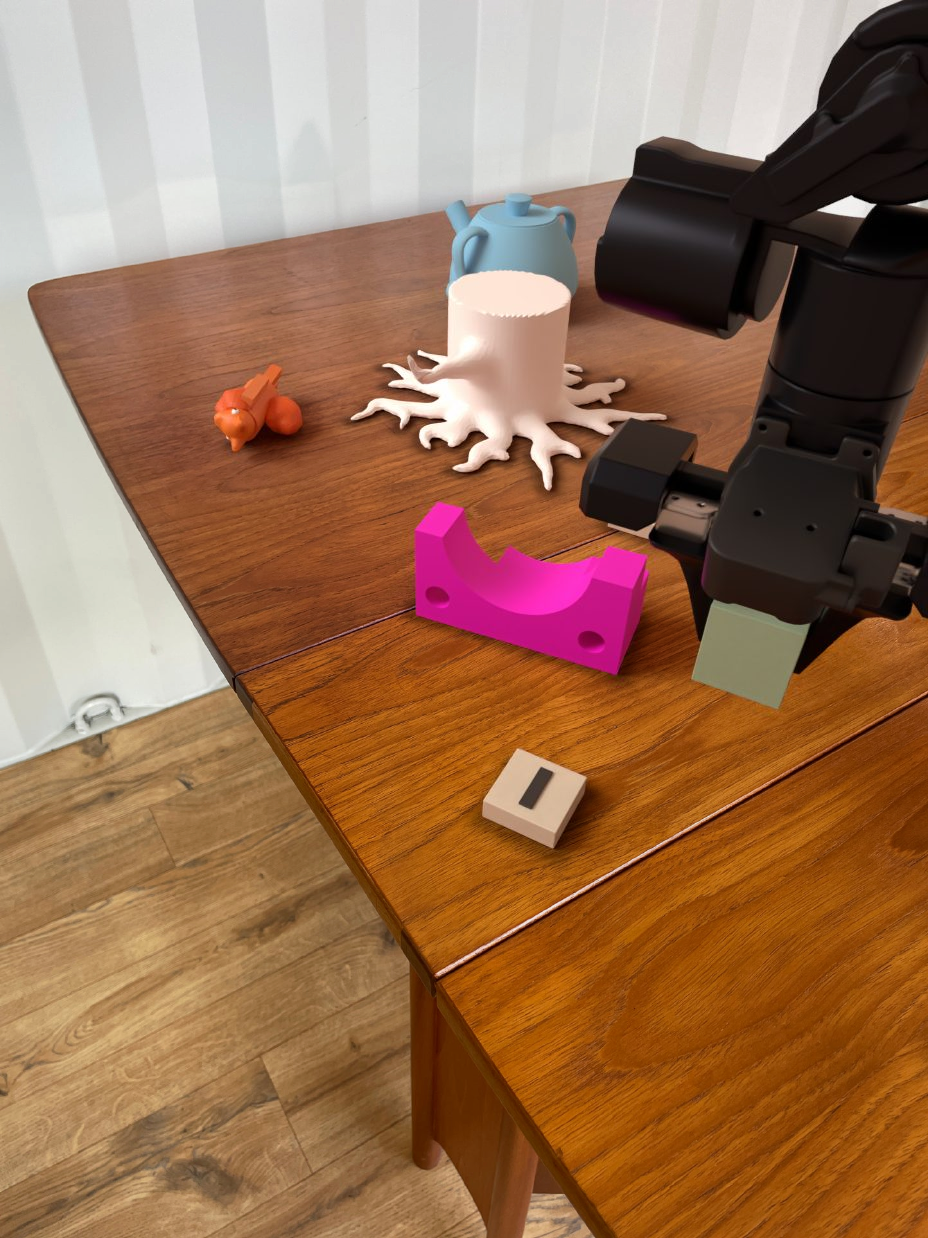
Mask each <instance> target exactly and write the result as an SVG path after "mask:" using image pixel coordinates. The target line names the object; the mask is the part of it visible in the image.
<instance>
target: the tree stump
mask: <svg viewBox="0 0 928 1238" xmlns="http://www.w3.org/2000/svg"><path fill="white" fill-rule="evenodd" d="M447 300H448V303H447V308H448V309H447V356H446V355H441V354H434V353H433V354H432V353H428V352H425V351H422V349H419V350H417V355H418V356H421V357H423V358H427V359H429V360H432V361H434V362H435V363H438V364H437V365H435V366H434V367H433V368H431V369H430V368H421V367H419V366H418V365H417V363H416V361H415V359H414V358H413V357H412V356H411V355H410V354H408V355H407V356H406V359H407V364H408V365H409V369H410V370H409V369H406V368H404V367H403V366H400V365H398V364H394V363H390V362H388V363H384V364H382V367H383V368H391V369H393V370H394V371H396V372H397V373H398V374H399V375H400V376H401V377H402V379H397V380H392V381H391V382H389V383H388V384H387V386H388V387H391V388H399V389H403V388H405V389H410V390H413V391H414V390H415V391H417V392H421V393H422V394H426V395H429V396H430V397H434V398H438V399H436V400H435V401H432V402H417V401H403V400H398V399H397V400H396V399H390V398H385V397H384V398H383V397H379V398H374V399H373V400H371V401H370V402H368V403H367V406H366V408H365V409H364V410H363V411H361V412H357V413H356V414H354V415H353V416H351V417H350V420H351V421H358V420H361V419H363V418H366V417H369V416H372V415H373V414H374V413H375V412H377V411H382V410H384V411H385V412H388V413H390V414H392V415H394V416H397V417H398V418H400V423H399V428H400V430H402V429H403V428H404V427H405V426H406V425H407V424H408V423H409V421H410V417H420V418H425V419H429V420H431V419H443V420H444V422H443V421H442V422H438V423H431V424H427V425H425V426H422V427H421V428H420V430H419V434H418V437H419V441H420V444H421V445H422V446H423V447H424V449H428V450H431V449H432V445H431V443H430V441H431V439H432V438H439V439H441V440H443V441H445V442H447V446H449V447H450V448H454V447H456V446H459V445H460V444H461V443H463V442H464V441H466V439H467V438H468V436H469V434H470V433H471V432H481V433H482V434H484V435H485V436H486V439H484V440H482V441H479V442H477V443H476V444H474V445H473V446H472V447H471V449H470V451H469V453H468V458H467V459H468V460H467V462H465V463H459V464H457V465H454V466H453V467H451V468H452V470H454V471H457V472H460V473H469V472H471V473H472V472H474V471H476V470H479V469H480V468H481V466H482V465H483V464H485V463H486V462H488V461H489V460H500V461H507V460H509V458H510V456H509V455H510V454H509V452H507V449H509V447H510V446H511V444H512V442H513V436H518V437H522V438H523V437H524V438H527V439H529V440H531V441H532V444H531V449H530V457H531V460H533V461H534V462H535V464H536V466H537V467H538V469H539V470H540V471H541V474H542V481H543V485H544V488H545V489H546V490H547V491H548V492H549V491H551V489H552V487H553V485H552V484H553V476H554V472H553V465H552V462H551V457H553V456H555V455H559V454H567V455H569V456H573V458H577V459H580V458H582V456H581V455H582V454H581V449H580V448H579V447H578V446H577V445H575V444H574V443H572V442H570V441H567V440H564V439H562V438H560V437H559V436H558V435H557V434H556V433H555V432H554V431H553V430H552V429H551V428H550V427H549V426H548V425H547V424H548V423H554V422H558V423H559V422H560V423H566V424H572V425H577V426H582V427H585V428H588V429H592V430H594V431H595V432H597V433H599V434H601V435H605V436H610V435H611V434H612V432H613V431H614V430H615V428H614V427H612V426H610V425H609V424H610V423H612V422H625V421H626V420H628V419H629V418H635V419H639V420H643V421H651V420H654V421H657V420H661V421H662V420H663V421H665V420H668V418H667V415H666V414H663V413H653V412H650V413H649V412H648V413H647V412H645V413H644V412H643V413H641V412H633V411H628V410H619V409H613V408H596V409H584V408H580V407H578V406H580V405H585V404H589V403H594V402H597V401H601V402H602V403H603V404H604V405H606V404H609V403H612V398H611V397H610V394H612V393H617V392H619V391H622V390H623V389H624V388H625V387H626V381H625V380H624V379H622V378H617V379H615V382H614V381H613V382H596V383H591V384H588V385H586V386H585V387H584V388H581V389H574V388H571V387H569V386H573V385H575V384H579V383H580V382H583V379H582V378H581V376H579V375H575V374H572V373H569V371H570V372H571V371H572V372H576V373H583V372H584V370H583V368H582V367H581V366H579V365H576V364H571V363H565V358H566V350H567V349H566V348H567V340H568V338H567V337H568V331H569V322H570V321H569V320H570V311H571V301H572V298H571V293H570V290H569V289H568V288H567V287H566V286H565V285H563V284H562V283H560V282H558V281H556V280H555V279H553V278H551V277H548V276H545V275H538V274H533V273H531V272H529V273H526V272H524V271H521V272H518V271H511V270H509V271H507V270H504V271H502V270H499V271H496V270H495V271H487V272H479V273H477V274H468V275H465V276H462V277H461V278H459V279H458V280H457V281H454V282H453V283H452V284H451V286H450V287H449V297H447Z"/></svg>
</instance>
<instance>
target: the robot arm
mask: <svg viewBox="0 0 928 1238" xmlns="http://www.w3.org/2000/svg"><path fill="white" fill-rule="evenodd" d="M632 167H633V168H632V175H631V177H629V179H628V180H627V182H626V183H625V185H624V186H623V187H622V188H621V190H620V192H619V194H618V196H617V198H616V200H615V202H614V203H613V206H612V209H611V212H610V214H609V216H608V218H607V222H606V225H605V229H604V233H603V234H602V235H601V236H599V238H598V240H597V242H596V247H595V255H594V267H593V268H594V269H593V270H594V271H593V275H594V277H593V278H594V284H595V285H594V287H595V290H596V293H597V296H598V299H599V300H600V301H601V303H602V304H603V305H605V306H607V307H610V308H613V309H617V310H620V311H623V312H627V313H630V314H634V315H637V316H640V317H644V318H646V319H647V318H648V319H651V320H654V321H658V322H661V323H664V324H668V325H671V326H675V327H678V328H682V329H686V330H688V331H693V332H696V333H698V334H703V335H706V336H709V337H712V338H716V339H720V340H724V341H726V340H730V339H732V338H733V337H735V336H736V335H738V333H739V332H740V330H741V329H742V328H743V327H744V326H745V324H746V322H747V321H748V320H750V321H752V322H753V321H754V322H757V323H761V322H763V321H765V320H766V318H768V317H769V315H770V314H771V312H772V311H773V310H774V308H775V306H776V305H777V303H778V301H779V300H780V297H781V295H782V293H783V290H784V289H785V286H786V290H785V293H784V296H783V302H782V305H781V309H780V312H779V316H778V320H777V322H776V323H777V324H776V328H775V332H774V334H773V339H772V342H771V347H770V351H769V353H768V357H767V361H766V365H765V369H764V371H763V376H762V380H761V384H760V387H759V391H758V396H757V399H756V402H755V406H754V410H753V414H752V418H751V422H750V425H749V429H748V432H747V435H746V436H747V437H746V440H745V442H744V443H743V445H742V446H741V447H740V449H739V450H738V452H737V453H736V455H735V456H734V458H733V459H732V461H731V463H730V465H729V466H728V469H727V471H725V470H721V469H717V468H714V467H710V466H707V465H703V464H700V463H699V464H698V463H696V462H695V459H696V455H697V450H698V445H699V439H698V434H697V433H693V432H689V431H686V430H682V429H679V428H674V427H670V426H666V425H662V424H658V423H654V422H650V421H648V420H644V421H643V420H639V419H635V418H629V419H628V420H626V421H622V423H620V424H619V425H617V426H616V427H615V428H614V431H613V432H612V434H611V435H608V437H607V438H606V440H605V441H604V442H603V443H602V445H600V447H599V448H598V449H597V451H596V452H595V453H594V454H593V456H592V457H591V458H590V460H588V462H587V464H586V468H585V471H584V473H583V476H582V480H581V485H580V486H581V487H580V493H579V502H578V509H579V510H580V511H581V513H582V515H584V516H585V517H587V518H590V519H593V520H597V521H599V522H603V523H607V524H608V523H609V524H613V525H616V526H619V527H623V528H626V529H629V530H633V531H636V532H637V531H639V530H641V529H643V528H645V527H647V526H650V525H652V524H654V523H655V525H654V526H653V528H652V530H651V531H650V533H649V535H648V538H649V539H648V541H649V544H650V545H651V546H652V547H653V548H654V549H657V550H659V551H663V552H665V553H667V554H668V555H670V556H671V557H672V558H674V559H675V560H677V562H678V563H679V565H680V568H681V571H682V574H683V577H684V579H685V583H686V587H687V591H688V595H689V601H690V606H691V610H692V617H693V622H694V627H695V631H696V636H697V641H698V642H700V643H701V641H702V637H703V634H704V630H705V626H706V623H707V619H708V615H709V612H710V608H711V605H712V603H713V601H714V600H717V601H719V602H722V603H725V604H738V605H741V606H744V607H747V608H750V609H753V610H757V611H760V612H763V613H766V614H769V615H772V616H775V617H776V618H777V619H778V620H779V621H782V622H785V623H789V624H793V625H805V624H809V623H811V624H810V627H809V630H808V633H807V636H806V639H805V642H804V644H803V647H802V650H801V652H800V655H799V658H798V660H797V663H796V666H795V668H794V671H793V674H796V675H798V676H799V675H801V674H802V673H803V672H804V671H805V670H806V669H807V668H808V667H810V665H811V664H812V663H813V662H815V661H816V660H817V659H818V658H819V657H820V656H821V655H822V654H823V653H825V651H826V650H827V649H828V648H829V647H831V646H832V645H833V644H834V643H836V641H837V640H838V639H840V638H841V637H842V636H843V635H844V634H845V633H846V632H848V631H849V630H851V629H852V628H854V627H855V626H857V625H858V624H860V623H861V622H863V621H865V620H866V619H874V618H875V619H876V618H883V619H887V620H890V621H894V622H900V621H904V620H906V619H907V618H908V617H909V616H910V615H911V614H912V611H913V605H914V608H916V611H917V612H918V613H919V615H920V616H921V618H922V619H923V618H924V619H926V620H928V516H925V515H920V514H917V513H913V512H911V511H906V510H902V509H898V508H894V507H890V506H881V503H879V502H876V500H877V496H878V484H879V482H880V480H881V476H882V474H883V471H884V468H885V466H886V464H887V461H888V460H889V459H888V458H889V456H890V453H891V451H892V448H893V446H894V443H895V441H896V438H897V435H898V432H899V430H900V427H901V426H902V425H901V424H902V422H903V421H904V417H905V415H906V411H907V409H908V406H909V404H910V402H911V400H912V395H913V394H914V391H915V389H916V386H917V383H918V381H919V377H920V376H921V373H922V371H923V368H924V364H925V362H926V360H927V357H928V208H926V207H922V206H916V205H912V204H918V203H921V202H925V201H928V0H899V1H896V2H893V3H892V4H888V5H887V6H884V7H882V8H880V9H878V10H876V11H875V12H873V13H872V14H871V15H869V16H868V17H866V18H865V19H864V20H862V21H860V22H859V23H858V24H857V25H856V26H855V28H854V30H853V31H851V33H850V34H849V36H848V37H847V38H846V40H845V41H844V42H843V44H842V45H841V46H840V47H839V48H838V50H837V51H836V52H835V53H834V55H833V56H832V57H831V60H830V63H829V66H827V69H826V71H825V74H824V77H823V79H822V81H821V83H820V86H819V88H818V94H817V101H816V109H815V110H814V112H813V113H812V114H810V115H809V116H808V117H807V118H806V119H805V120H804V121H803V122H802V123H801V125H799V127H797V128H796V129H795V130H794V132H792V133H791V135H789V137H787V138H786V140H784V141H783V142H782V143H781V144H780V145H779V146H778V147H777V148H776V149H775V150H774V151H772V152H770V153H768V154H766V155H765V157H764V160H760V159H755V158H750V157H744V156H739V155H734V154H729V153H723V152H718V151H713V150H708V149H705V148H702V147H700V146H698V145H697V144H694V143H692V142H690V141H688V140H684V139H680V138H675V137H669V136H664V135H662V136H659V137H656V138H654V139H652V140H649V141H646V142H644V143H641V144H640V145H638V146H637V147H636V149H635V152H634V160H633V166H632ZM849 197H853V198H854V199H856V200H859V201H862V202H865V203H868V204H871V205H874V206H873V207H872V208H871V209H870V210H869V211H868V213H867V214H866V216H865V217H860V216H852V215H851V216H850V215H844V214H837V213H832V212H826V211H822V210H821V209H823V208H826V207H829V206H831V205H833V204H835V203H838V202H840V201H842V200H845V199H847V198H849ZM796 247H797V248H796ZM789 275H790V276H789ZM787 280H788V282H787ZM786 283H787V285H786Z"/></svg>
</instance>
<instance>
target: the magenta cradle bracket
mask: <svg viewBox="0 0 928 1238" xmlns="http://www.w3.org/2000/svg"><path fill="white" fill-rule="evenodd" d="M647 560H648V555H645V554H641V553H637V552H633V551H629V550H626V549H622V548H618V547H614V546H611V545H607V547H606V549H605V551H604V553H603V554H602V556H601V557H597V556H594V555H593V556H590V557H588V558H586V559H582V560H580V561H575V562H569V563H556V562H555V563H554V562H548V561H543V560H540V559H537V558H533V557H530V556H528V555H526V554H524V553H522V552H520V551H519V550H517V549H515V547H513V546H511V545H510V544H509V545H508V547H507V548H506V549H505V551H504V552H503V554H502V556H501V557H500V559H499V560H498V562H495V561H494V560H493V559H492V558H491V557H490V556H489V555H488V554H487V553H486V552H485V551H484V550H483V549H482V548H481V546H480V545H479V543H478V542H477V540H476V539H475V537H474V535H473V533H472V531H471V529H470V526H469V524H468V521H467V517H466V510H465V508H463V507H459V506H455V505H451V504H447V503H443V502H440V501H437V502H436V504H435V505H434V506H433V507H432V508H431V509H430V510H429V512H428V513H427V514H426V515H425V517H424V518H423V519H422V520H421V522H420V523H419V524H418V525H417V526H416V528H415V529H414V572H415V573H414V575H415V577H414V579H415V615H416V616H417V617H422V618H425V619H428V620H432V621H434V622H438V623H441V624H445V625H448V626H451V627H455V628H457V629H461V630H464V631H468V632H471V633H474V634H478V635H480V636H481V635H482V636H485V637H488V638H491V639H494V640H498V641H501V642H503V643H504V642H505V643H508V644H511V645H515V646H518V647H522V648H525V649H528V650H531V651H534V652H538V653H542V654H545V655H548V656H552V657H555V658H558V659H561V660H565V661H568V662H572V663H574V664H578V665H580V666H585V667H588V668H591V669H595V670H599V671H602V672H605V673H608V674H612V675H615V676H617V675H618V672H619V670H620V668H621V665H622V663H623V661H624V658H625V655H626V653H627V651H628V649H629V646H630V644H631V642H632V639H633V636H634V634H635V632H636V630H637V628H638V625H639V622H640V619H641V614H642V610H643V605H644V600H645V595H646V590H647V585H648V580H649V575H650V570H647V569H646V567H647Z"/></svg>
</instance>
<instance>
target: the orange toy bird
mask: <svg viewBox="0 0 928 1238" xmlns="http://www.w3.org/2000/svg"><path fill="white" fill-rule="evenodd" d="M282 372H283V367H281V366H279V365H276V364H274V363H271V364H270V365H269V366H268V368H267V369H266V371H264V373H263V374H261V373H257V374H256V375H255V376H254V378H251V379H249V380H248V381H247V382H246V383H245V384H244V386H243V387H237V388H233V389H227V390H225V391H223V394H222V396H221V397H220V399H219V400H218V401H217V402H216V404H215V407H214V412H215V414H214V416H213V417H212V420H213V422H214V424H215V425H216V427H217V428H218V429H219V430H220V431H221V432H222V433H223V434H224V436H225V438H226V439H227V440H228V441H230V443H231V444H230V445H231V451H232V452H234V453H239V452H240V450H241V449H242V448H243V446H244V445H245V444H246V442H248V441H249V442H250V441H251V440H253V439H255V437H256V436H257V435H258V433H259V432H260V431H261V429H262V427H263V426H264V425H266V426H267V427H268V428H269V429H270V430H271V431H272V432H274V433H277V434H281V435H285V436H288V435H294V434H296V433H297V432H299V429H300V428H301V427H302V425H303V415H302V411H301V407H300V406H299V405H298V403H297V402H295V401H294V400H293V399H291V398H290V397H289V396H286V395H279V392H278V390H277V388H278V384H279V382H278V381H279V380H280V378H281V376H282V374H283V373H282Z"/></svg>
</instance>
